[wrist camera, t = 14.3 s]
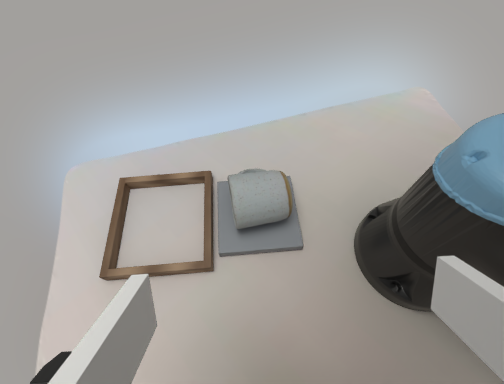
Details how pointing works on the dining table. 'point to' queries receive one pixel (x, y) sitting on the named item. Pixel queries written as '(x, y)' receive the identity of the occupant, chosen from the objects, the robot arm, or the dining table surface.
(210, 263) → the walnut frame
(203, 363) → the dining table surface
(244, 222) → the ceramic mug
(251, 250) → the grey board
